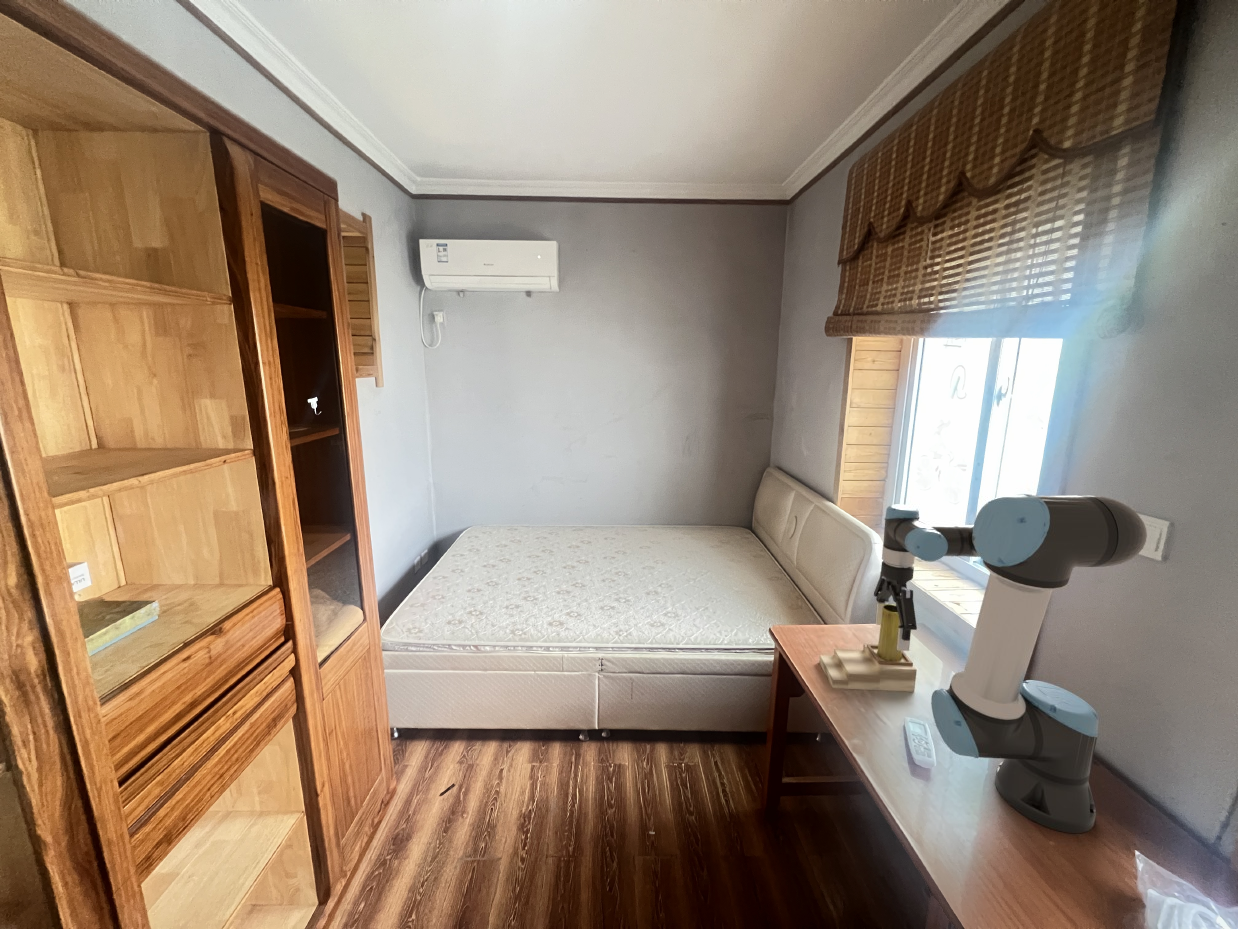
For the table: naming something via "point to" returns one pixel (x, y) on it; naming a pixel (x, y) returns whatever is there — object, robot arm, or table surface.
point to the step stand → (868, 670)
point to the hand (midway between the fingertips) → (891, 636)
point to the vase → (889, 634)
